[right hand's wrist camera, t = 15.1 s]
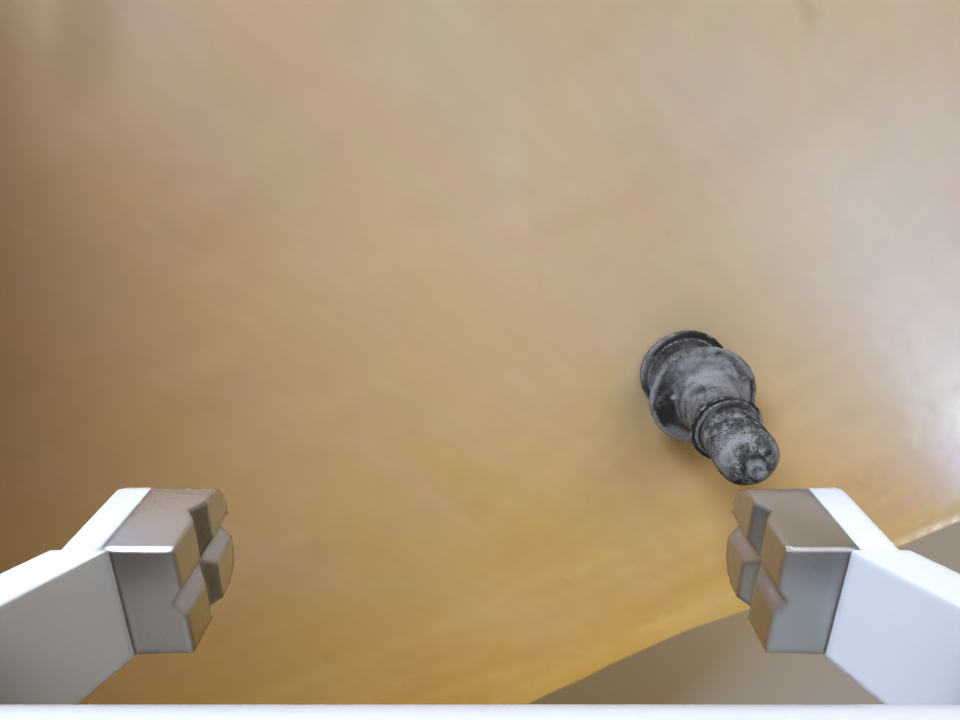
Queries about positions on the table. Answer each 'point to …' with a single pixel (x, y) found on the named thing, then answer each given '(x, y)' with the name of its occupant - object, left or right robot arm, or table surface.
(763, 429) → the grey chess piece
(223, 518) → the right robot arm
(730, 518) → the table surface
